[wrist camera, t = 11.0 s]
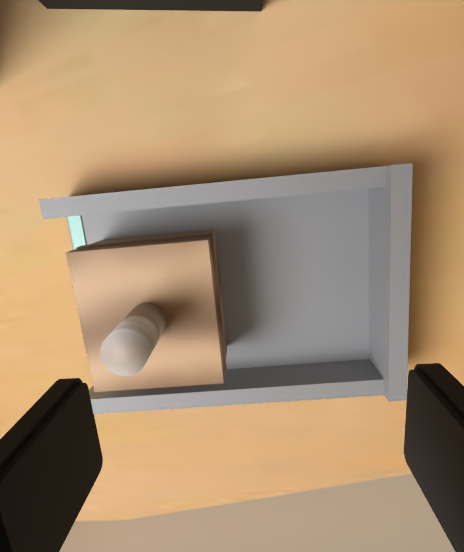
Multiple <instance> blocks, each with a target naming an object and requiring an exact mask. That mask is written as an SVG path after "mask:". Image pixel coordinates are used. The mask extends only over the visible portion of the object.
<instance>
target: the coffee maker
mask: <svg viewBox="0 0 464 552" xmlns="http://www.w3.org/2000/svg"><path fill="white" fill-rule="evenodd" d="M39 1H40V2H41V3H42V4H43V5H44V6H45V7H46V8H47V9H123V10H200V11H261V9H262V0H39Z"/></svg>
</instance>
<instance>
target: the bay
mask: <svg viewBox="0 0 464 552" xmlns="http://www.w3.org/2000/svg"><path fill="white" fill-rule="evenodd" d="M412 176H413V163H407V164H397V165H389V166H380V167H370V168H360V169H349V170H339V171H329V172H318V173H308V174H298V175H287V176H277V177H267V178H256V179H246V180H236V181H225V182H215V183H205V184H195V185H184V186H174V187H164V188H153V189H143V190H133V191H122V192H112V193H102V194H91V195H81V196H71V197H60V198H50V199H40V200H39V202H40V207H41V211H42V216H43V219H48V218H58V217H67V222H68V227H69V232H70V237H71V242H72V247H73V250H75V249H76V247H79V246H82V245H89V244H92V243H95V242H97V241H100V240H108V239H119V238H131V237H142V236H153V235H164V234H175V233H186V232H197V231H208V230H215V234H216V244H217V253H218V263H219V273H220V282H221V292H222V301H223V311H224V321H225V330H226V340H227V354H226V365H227V368H226V373H225V375H224V383H221V384H206V385H192V386H177V387H163V388H148V389H133V390H119V391H104V392H94V387H93V386H92V388H91V389H90V390H89V394H90V399H91V404H92V409H93V414H102V413H117V412H132V411H148V410H163V409H178V408H193V407H209V406H224V405H239V404H254V403H270V402H285V401H300V400H315V399H331V398H346V397H361V396H377V395H385V397H386V398H387V400H388V401H401V400H407V368H408V329H409V291H410V253H411V214H412Z"/></svg>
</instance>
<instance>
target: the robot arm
mask: <svg viewBox="0 0 464 552" xmlns="http://www.w3.org/2000/svg"><path fill="white" fill-rule="evenodd" d="M404 455H405V459H406V462H407V464H408V466H409V468H410V470H411V472H412V474H413V475H414V477H415V479H416V481H417V483H418V484H419V486H420V488H421V490H422V492H423V494H424V495H425V497H426V499H427V501H428V503H429V504H430V506H431V508H432V510H433V512H434V513H435V515H436V517H437V518H438V521H439V523H440V524H441V526H442V528H443V530H444V532H445V533H446V535H447V537H448V539H449V540H450V542H451V544H452V546H453V548H454V550H455V551H456V552H464V386H463V385H462V384H461V383H460V382H459V381H458V380H457V379H456V378H455V377H454V376H453V375H452V374H450V373H449V372H448V371H447V370H446V369H445V368H444V367H443V366H442V365H441V364H439V363H434V364H417V365H416V366H415V369H414V370H410V371H409V375H408V390H407V407H406V424H405V440H404ZM102 461H103V459H102V453H101V448H100V443H99V438H98V433H97V428H96V424H95V419H94V414H93V409H92V404H91V399H90V394H89V389H88V386H87V384H86V383H82V381H81V379H79V378H73V379H59V380H57V381H56V382H55V383H54V384H53V385H52V386H51V387H50V388H49V389H48V391H47V392H46V393H45V394H44V395H43V396H42V397H41V398H40V399H39V400H38V401H37V402H36V403H35V404H34V405H33V406H32V407H31V408H30V409H29V410H28V411H27V412H26V413H25V414H24V415H23V416H22V418H21V419H20V420H19V421H18V422H17V423H16V424H15V425H14V426H13V427H12V428H11V429H10V430H9V431H8V432H7V433H6V434H5V435H4V436H3V437H2V438H1V439H0V552H59V551H60V549H61V547H62V545H63V543H64V541H65V539H66V537H67V535H68V533H69V531H70V529H71V527H72V525H73V524H74V522H75V520H76V518H77V516H78V514H79V512H80V510H81V508H82V506H83V504H84V502H85V500H86V498H87V496H88V494H89V492H90V491H91V489H92V487H93V485H94V483H95V481H96V479H97V477H98V475H99V473H100V471H101V468H102Z"/></svg>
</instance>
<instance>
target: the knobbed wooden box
mask: <svg viewBox="0 0 464 552" xmlns="http://www.w3.org/2000/svg"><path fill="white" fill-rule="evenodd" d="M66 256H67V261H68V266H69V271H70V275H71V280H72V285H73V290H74V295H75V300H76V305H77V309H78V314H79V319H80V324H81V329H82V334H83V339H84V343H85V348H86V353H87V358H88V363H89V368H90V373H91V377H92V382H93V387H94V392H104V391H119V390H133V389H148V388H163V387H177V386H192V385H206V384H221V383H224V375H225V373H226V368H227V365H226V354H227V340H226V330H225V321H224V311H223V301H222V292H221V282H220V273H219V263H218V253H217V244H216V234H215V230H208V231H197V232H186V233H175V234H164V235H153V236H142V237H131V238H119V239H108V240H100V241H97V242H95V243H92V244H89V245H82V246H79V247H76V249H75V250H72V251H69V252H67V253H66Z"/></svg>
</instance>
